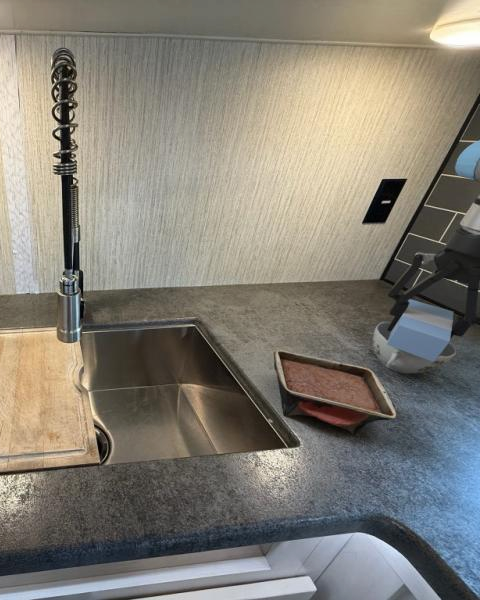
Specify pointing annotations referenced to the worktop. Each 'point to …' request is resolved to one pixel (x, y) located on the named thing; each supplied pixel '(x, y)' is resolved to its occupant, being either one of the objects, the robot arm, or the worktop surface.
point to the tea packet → (422, 330)
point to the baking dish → (331, 391)
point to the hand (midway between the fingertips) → (414, 336)
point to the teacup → (405, 354)
